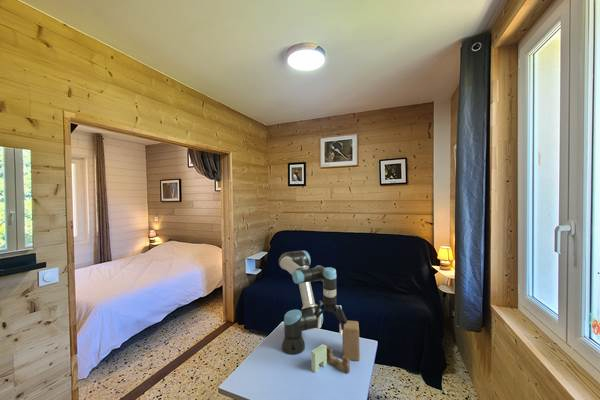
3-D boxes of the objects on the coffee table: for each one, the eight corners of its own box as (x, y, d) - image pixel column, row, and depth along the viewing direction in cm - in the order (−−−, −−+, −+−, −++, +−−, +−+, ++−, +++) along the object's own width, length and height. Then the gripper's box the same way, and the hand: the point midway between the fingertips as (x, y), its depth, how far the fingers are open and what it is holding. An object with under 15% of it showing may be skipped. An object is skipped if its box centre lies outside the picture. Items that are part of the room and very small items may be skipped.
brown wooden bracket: (325, 360, 151) (325, 347, 151) (328, 359, 152) (327, 346, 152) (347, 374, 139) (347, 359, 139) (349, 372, 140) (349, 358, 140)
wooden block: (359, 361, 149) (359, 328, 149) (342, 359, 151) (342, 327, 151) (359, 351, 159) (358, 320, 159) (343, 350, 161) (342, 319, 161)
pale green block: (315, 372, 141) (315, 353, 141) (311, 370, 143) (311, 351, 143) (326, 364, 147) (326, 346, 147) (323, 362, 150) (322, 343, 150)
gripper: (307, 293, 146) (308, 328, 147) (348, 302, 134) (348, 340, 135) (313, 288, 153) (313, 322, 154) (352, 297, 140) (352, 333, 141)
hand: (330, 331), depth 144 cm, fingers open, 13 cm apart
